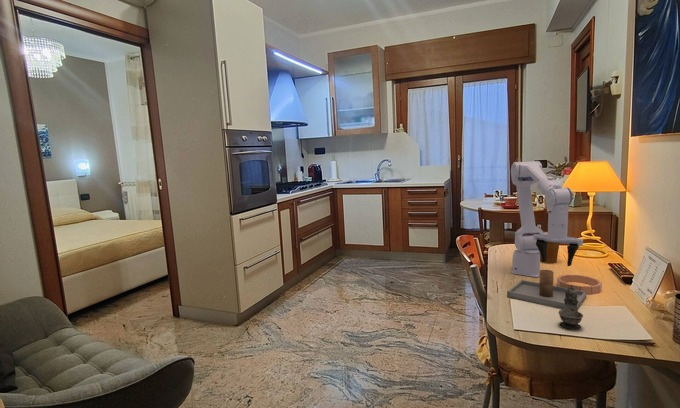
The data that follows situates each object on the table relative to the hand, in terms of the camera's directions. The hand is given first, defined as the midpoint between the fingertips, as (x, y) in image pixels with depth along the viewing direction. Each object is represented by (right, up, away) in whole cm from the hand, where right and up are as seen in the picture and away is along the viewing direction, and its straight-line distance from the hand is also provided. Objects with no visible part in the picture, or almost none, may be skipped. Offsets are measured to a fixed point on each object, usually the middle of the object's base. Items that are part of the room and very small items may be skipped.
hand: (556, 263), depth 129 cm
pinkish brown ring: (+10, -9, +4) cm, 14 cm away
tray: (-5, -11, -3) cm, 12 cm away
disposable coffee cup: (+16, -5, +35) cm, 39 cm away
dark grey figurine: (-10, -14, -24) cm, 29 cm away
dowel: (-5, -10, -3) cm, 12 cm away
